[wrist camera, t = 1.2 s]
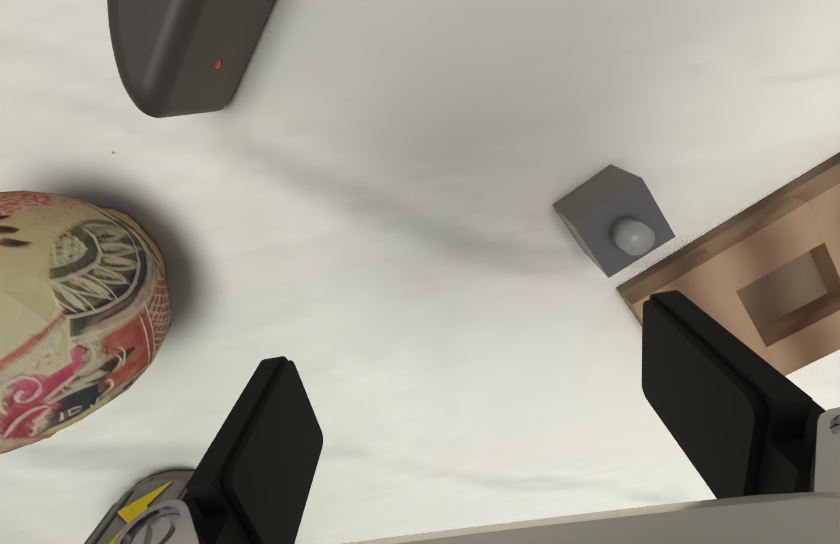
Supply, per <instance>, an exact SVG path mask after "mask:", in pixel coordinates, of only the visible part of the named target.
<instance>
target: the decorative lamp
mask: <svg viewBox="0 0 840 544" xmlns="http://www.w3.org/2000/svg"><path fill="white" fill-rule="evenodd" d="M194 472H195V471H170V472H166V473H162V474H158V475H154V476H150V477H147V478H146V479H144V480H143V481H141V482H140V483H138V484H137V485H135V486H133V487H132V488H131V490H130V491H128V492H126V493H125V494H124V495H123V496H122V497H121V498H120V500H119V501H118V502H117V503H115V504H114V505H113V506H112V507H111V508H110V510H109V511H108V512H107V514H106V515H105V516H104V518H103V519H102V520H101V522H100V523H99V524H98V526H97V527H96V528H95V530H94V531H93V532H92V534H91V535H90V536H89V538H88V539H87V540H86V542H85V543H84V544H113V543H114V541H115V539H116V538H117V537H118V535H119V534H120V533H121V531H122V530H123V529H124V528H125V527H126V526H127V525H128V524H129V523H130V522H131V521H132V520H133V519H134V518H135V517H136V516H138V515H139V514H141V513H142V512H143V511H145V510H146V509H148V508H150V507H152V506H154V505H155V504H157V503H160V502H163V501H166V500H176V499H178V500H180V501H181V500H182V499H183V497H184V495H185V493H186V492H187V489H186V485H187V483H188V482H189V480H190V478H191V477H192V475H193V473H194Z"/></svg>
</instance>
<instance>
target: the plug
mask: <svg viewBox="0 0 840 544" xmlns="http://www.w3.org/2000/svg"><path fill="white" fill-rule="evenodd" d="M553 207H554V208H555V210H556V211H557V213H558V214H559V216H560V217H561V219H562V220H563V222H564V223H565V224H566V226H567V227H568V229H569V230H570V232H571V233H572V235H573V236H574V238H575V239H576V241H577V242H578V244H579V245H580V247H581V248H582V249H583V251H584V252H585V253H586V254H587V256H588V257H589V258H590V259H591V260H592V261H593V262H594V263H595V264H596V265H597V266H598V267H599V268H600V269H601V270H602V271H603V272H604V273H605V275H606V276H607V277H608V278H609V277H611V276H612V275H614V274H616V273H617V272H619V271H621V270H622V269H624V268H625V267H627V266H629V265H630V264H632V263H633V262H635V261H637V260H638V259H640V258H642V257H643V256H645V255H646V254H648V253H650V252H651V251H653V250H654V249H656V248H658V247H659V246H661V245H663V244H664V243H666V242H667V241H669V240H671V239H672V238H674V237H675V235H674V233H673V231H672V230H671V228H670V226H669V224H668V223H667V221H666V219H665V217H664V216H663V214H662V212H661V210H660V209H659V207H658V205H657V204H656V202H655V200H654V198H653V197H652V195H651V193H650V191H649V190H648V188H647V186H646V184H645V183H644V181H643V179H642V178H640V177H638V176H636V175H633V174H631V173H629V172H626V171H624V170H622V169H619V168H617V167H615V166H612V165H609V166H608V167H606V168H605V169H604V170H602V171H601V172H599V173H598V174H596V175H595V176H593V177H592V178H591V179H589V180H588V181H586V182H585V183H583V184H582V185H581V186H579V187H578V188H576V189H575V190H573V191H572V192H571V193H569V194H568V195H566V196H565V197H563V198H562V199H561V200H559V201H558V202H556V203H555V204H553Z"/></svg>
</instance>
